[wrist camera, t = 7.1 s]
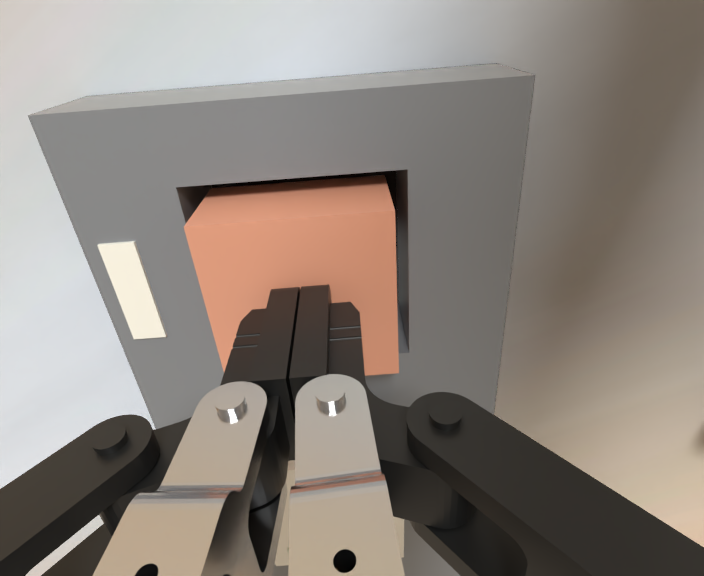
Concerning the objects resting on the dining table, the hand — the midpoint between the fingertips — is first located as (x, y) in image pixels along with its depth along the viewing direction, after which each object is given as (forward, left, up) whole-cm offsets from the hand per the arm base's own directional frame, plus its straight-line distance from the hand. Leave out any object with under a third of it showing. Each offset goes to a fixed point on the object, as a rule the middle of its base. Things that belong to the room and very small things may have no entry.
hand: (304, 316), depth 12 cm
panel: (+8, 0, -5) cm, 9 cm away
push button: (0, 0, -3) cm, 3 cm away
